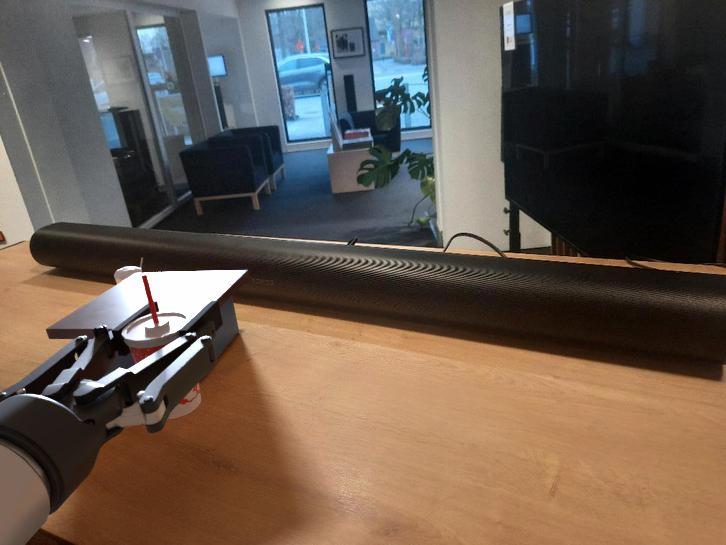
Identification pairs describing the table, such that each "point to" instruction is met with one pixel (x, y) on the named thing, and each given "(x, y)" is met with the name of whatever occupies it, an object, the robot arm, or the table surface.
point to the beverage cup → (159, 342)
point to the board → (130, 296)
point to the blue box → (219, 342)
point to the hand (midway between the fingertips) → (186, 312)
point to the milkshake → (126, 272)
